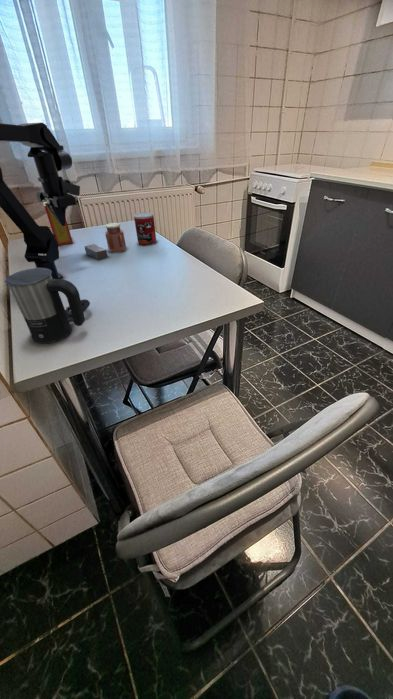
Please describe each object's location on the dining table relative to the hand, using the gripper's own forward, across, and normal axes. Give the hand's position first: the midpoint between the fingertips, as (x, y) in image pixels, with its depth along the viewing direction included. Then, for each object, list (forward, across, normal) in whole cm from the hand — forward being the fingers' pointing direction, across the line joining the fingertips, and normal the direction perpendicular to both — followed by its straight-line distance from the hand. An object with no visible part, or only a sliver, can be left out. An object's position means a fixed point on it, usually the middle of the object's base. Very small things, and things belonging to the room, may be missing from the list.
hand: (63, 225), depth 101 cm
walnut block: (+13, 0, -9) cm, 16 cm away
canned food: (+13, -2, -32) cm, 34 cm away
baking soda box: (+13, +28, -8) cm, 32 cm away
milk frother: (+13, -40, +21) cm, 47 cm away
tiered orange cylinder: (+12, -1, -14) cm, 19 cm away
